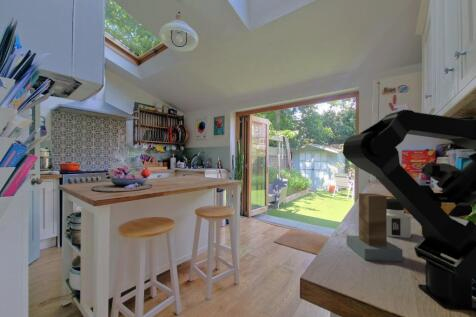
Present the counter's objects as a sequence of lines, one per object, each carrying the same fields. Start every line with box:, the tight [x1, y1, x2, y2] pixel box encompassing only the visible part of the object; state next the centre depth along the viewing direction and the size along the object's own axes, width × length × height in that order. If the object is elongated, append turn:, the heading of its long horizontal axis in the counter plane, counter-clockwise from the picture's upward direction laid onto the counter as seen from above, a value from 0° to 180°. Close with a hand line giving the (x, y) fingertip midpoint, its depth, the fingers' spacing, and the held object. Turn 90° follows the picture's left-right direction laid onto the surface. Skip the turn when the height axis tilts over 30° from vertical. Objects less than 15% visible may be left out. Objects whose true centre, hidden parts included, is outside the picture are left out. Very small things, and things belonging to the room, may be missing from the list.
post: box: [358, 192, 388, 246], centre depth 61 cm, size 5×5×14 cm
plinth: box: [346, 235, 404, 262], centre depth 61 cm, size 10×10×3 cm
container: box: [386, 197, 412, 239], centre depth 77 cm, size 8×8×13 cm
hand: (431, 216), depth 54 cm, fingers open, 9 cm apart
